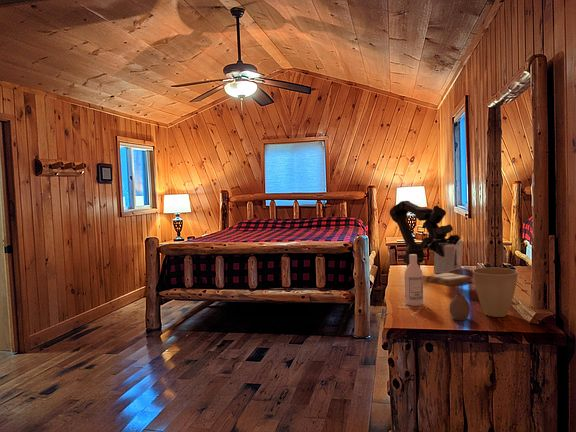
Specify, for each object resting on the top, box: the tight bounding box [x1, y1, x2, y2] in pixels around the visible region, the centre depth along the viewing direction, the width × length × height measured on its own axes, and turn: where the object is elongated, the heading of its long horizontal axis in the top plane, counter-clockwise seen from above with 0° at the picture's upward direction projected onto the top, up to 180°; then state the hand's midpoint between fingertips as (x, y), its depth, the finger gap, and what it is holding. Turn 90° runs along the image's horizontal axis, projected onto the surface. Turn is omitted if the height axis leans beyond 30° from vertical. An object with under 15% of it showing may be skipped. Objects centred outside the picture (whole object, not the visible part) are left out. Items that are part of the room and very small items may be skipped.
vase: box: [448, 293, 471, 321], centre depth 168 cm, size 7×7×9 cm
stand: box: [426, 272, 472, 287], centre depth 228 cm, size 14×14×3 cm
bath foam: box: [404, 254, 424, 307], centre depth 189 cm, size 7×7×20 cm
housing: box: [438, 243, 455, 272], centre depth 220 cm, size 5×5×12 cm
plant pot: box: [472, 267, 519, 318], centre depth 171 cm, size 15×15×16 cm
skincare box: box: [433, 239, 463, 274], centre depth 253 cm, size 21×6×16 cm, turn 132°
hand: (448, 256), depth 219 cm, fingers closed on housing, 5 cm apart
